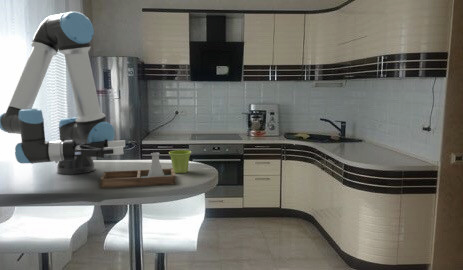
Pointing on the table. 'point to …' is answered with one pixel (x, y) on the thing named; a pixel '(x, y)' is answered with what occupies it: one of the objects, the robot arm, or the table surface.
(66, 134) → the robot arm
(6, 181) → the table surface
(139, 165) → the table surface
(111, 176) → the walnut caddy
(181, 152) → the plant pot
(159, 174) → the flask
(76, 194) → the table surface
